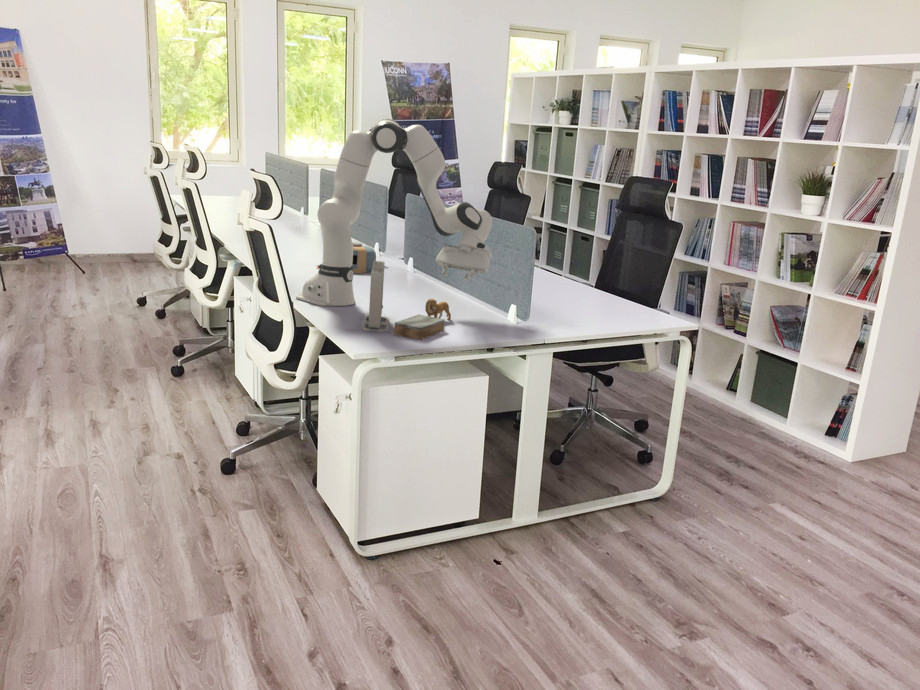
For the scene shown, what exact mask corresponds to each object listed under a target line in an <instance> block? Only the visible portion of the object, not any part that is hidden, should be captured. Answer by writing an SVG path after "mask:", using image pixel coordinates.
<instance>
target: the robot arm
mask: <svg viewBox="0 0 920 690" xmlns="http://www.w3.org/2000/svg"><path fill="white" fill-rule="evenodd" d="M342 147H343V148H342V149H341V153H340V156H339V158H338V162H337V165H336V169H335V172H334V176H333V181H334V184H333V185H334V186H333V193H332V197H331V198H328V199H327V200H325V201H323V203H321V205H320V206H319V208H318V209H317V220H318V222H319V224H320V225H319V226H320V231H321V236H322V263H321V264H319V265H317V266H316V269H317V270H318V269H319V270H318V271H317V274H315V275H313V276H312V277H311V278H310V279H307V280H306V281H305V282H304V284H303V287H302V293H298V294H297V295H296V296H295V299H297V300H299V301H304V302H307V303H310V304H314V305H318V306H322V307H323V306H326V307H328V306H338V307H340V306H341V307H342V306H351V305H354V304H355V303H356V299H355V295H354V288H353V287H354V286H353V279H354V273H353V243H352V242H353V241H352V234H351V233H352V232H351V226H352V225H354V223H355V222H356V221H358V219H359V217H360V214H361V204H362V199H363V192H364V186H365V184H366V179H367V175H368V173H369V170H370V166H371V163H372V159H373V157H374V155H375V154H376V153H377V152H378V151H379V152H380V153H384V154H391V153H394V152H398V151H403V152H404V153H406V155H407V157H408V158H409V160H410V161H411V164H412V165H413V167H414V169H415V173H416V176H417V177H416V183H417V185H418V189H419V191H420V193H421V196H422V198H423V200H424V203H425V205H426V206H427V209H428V211H429V214H430V216H431V220H432V224H433V226H434V227H433V228H434V229H435V231H436V232H437V233H438V234H439V235H441V236H442V237H450V236H453V235H454V234H456V233H458V232H459V233H461V234H462V235H461V238H460V239H459V240H458V241H459V242H458V243H457V245H450V244H446V245H444V246H443V247H442V248H441V250H440V251H439V252H438V254H437V256H436V257H435V262H436V264H437V266H438V267H441V268H442V272H441V276H442V277H448V275H449V273H448V271H447V270H448V269H451V270H452V269H453V270H459V271H464V272H469V273H466V274H465V275H464V280H465V281H467V282H469V281H470V280H471V278H472V277H474V276H475V275H477V274H482V275H483V274H486V273H487V272H488V270H489V268H490V265H491V259H492V252H491V249H490V247H489V245H487V244H485V241H486V240H488V237H489V235H490V233H491V230H492V227H493V218H492V216H491V214H490V213H489V211H487V210H485V209H482V208H481V209H480V208H479V209H478V208H476V207H474V206H473V204H470V203H469V202H467V201H463V202H459V203H457V204H454V205H451V206H450V207H446V206H445V204H444V202H443V199H442V198H441V196H440V194H439V193H440V192H439V191H438V188H437V181H438V179H439V177H440V176H441V175H442V173H443V172H444V168H445V165H446V163H445V162H446V160H445V157H444V155H443V153H442V150H441V149H440V147H439V146H438V144H437V142H436V141H435V139H434V138H433V137H432V135H431V133H430V132H428V130H427V129H426V128H425V126H423V125H421V124H411V125H410V126H408V127H406V128H405V127H401V125H400V124H399V123H398V122H397V121H396V120H394V119H391V118H383V119H382V120H380V121H378V122H376V123H375V124H374V125H373V127H372V128H371V129H369V130H368V131H365V130H360V129H358V130H353V131H351V132H350V133H349V134H348V136H347V138H346V140H345V142H344V143H343V146H342Z"/></svg>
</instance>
